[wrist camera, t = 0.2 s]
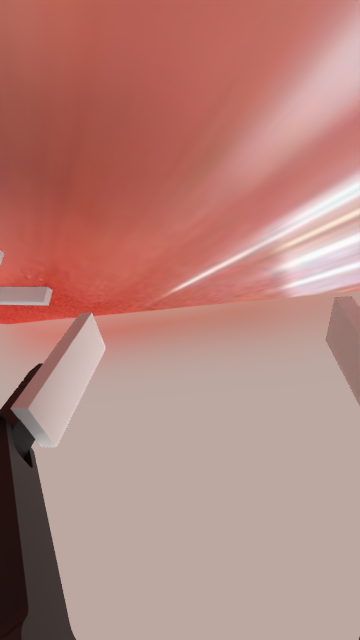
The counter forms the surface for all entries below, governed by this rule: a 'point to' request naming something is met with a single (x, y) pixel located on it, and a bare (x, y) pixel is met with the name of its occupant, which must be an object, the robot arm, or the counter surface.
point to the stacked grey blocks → (24, 294)
